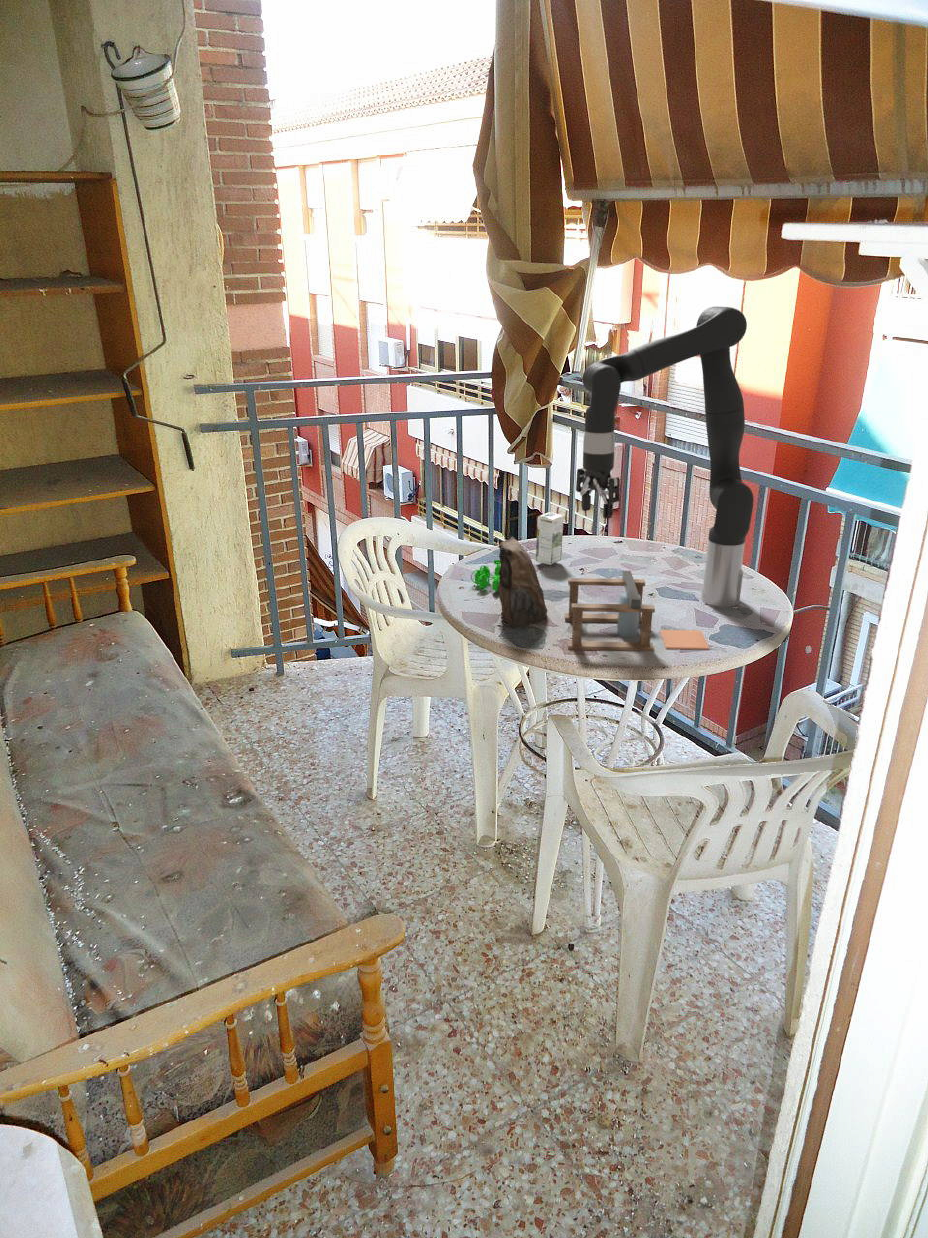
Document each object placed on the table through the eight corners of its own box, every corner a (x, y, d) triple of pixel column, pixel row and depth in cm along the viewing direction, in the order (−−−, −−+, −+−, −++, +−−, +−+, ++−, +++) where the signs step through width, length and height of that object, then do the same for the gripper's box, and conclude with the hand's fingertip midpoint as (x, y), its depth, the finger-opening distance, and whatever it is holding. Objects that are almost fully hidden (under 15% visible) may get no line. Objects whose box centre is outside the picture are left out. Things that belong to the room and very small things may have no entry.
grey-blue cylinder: (636, 629, 212) (639, 592, 208) (638, 638, 207) (641, 600, 203) (616, 629, 212) (618, 592, 208) (618, 637, 208) (620, 599, 204)
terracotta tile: (700, 633, 209) (701, 630, 209) (708, 651, 200) (709, 647, 200) (659, 632, 210) (659, 629, 210) (665, 650, 201) (666, 647, 201)
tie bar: (630, 578, 214) (630, 570, 213) (639, 607, 196) (640, 599, 196) (622, 578, 214) (622, 570, 214) (630, 607, 197) (631, 599, 196)
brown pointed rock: (513, 631, 212) (514, 554, 204) (480, 615, 221) (480, 542, 213) (549, 618, 219) (552, 544, 211) (517, 604, 228) (518, 532, 220)
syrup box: (546, 556, 263) (547, 511, 257) (562, 560, 260) (563, 514, 254) (535, 561, 259) (536, 515, 253) (551, 565, 256) (553, 519, 250)
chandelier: (524, 575, 249) (524, 553, 246) (522, 594, 235) (523, 571, 232) (473, 574, 250) (473, 552, 247) (468, 593, 236) (468, 569, 233)
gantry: (642, 618, 219) (646, 578, 214) (653, 651, 200) (657, 609, 196) (564, 616, 220) (566, 577, 216) (568, 649, 202) (570, 607, 197)
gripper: (630, 452, 202) (626, 518, 209) (592, 442, 214) (590, 505, 220) (605, 456, 199) (602, 523, 205) (568, 446, 210) (567, 510, 217)
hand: (596, 514), depth 213 cm, fingers open, 8 cm apart
